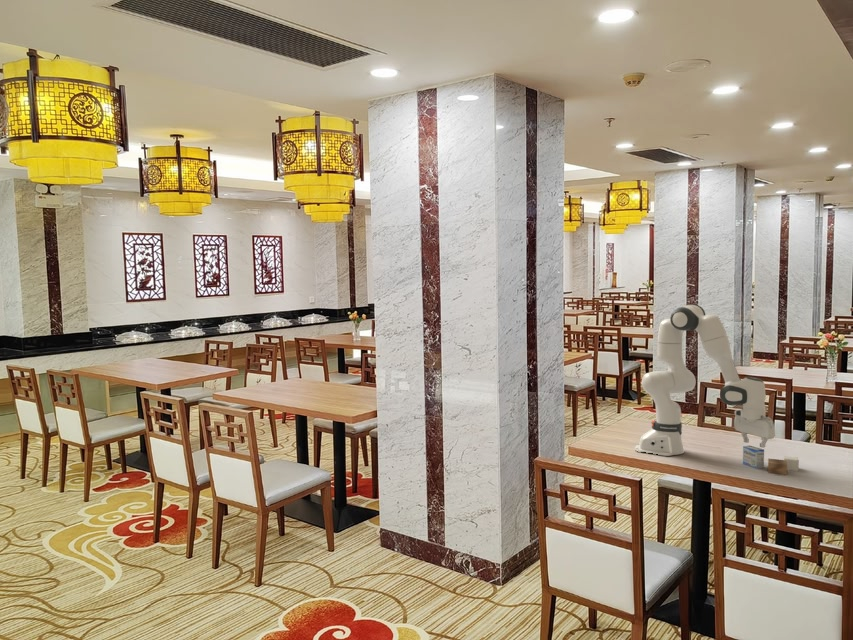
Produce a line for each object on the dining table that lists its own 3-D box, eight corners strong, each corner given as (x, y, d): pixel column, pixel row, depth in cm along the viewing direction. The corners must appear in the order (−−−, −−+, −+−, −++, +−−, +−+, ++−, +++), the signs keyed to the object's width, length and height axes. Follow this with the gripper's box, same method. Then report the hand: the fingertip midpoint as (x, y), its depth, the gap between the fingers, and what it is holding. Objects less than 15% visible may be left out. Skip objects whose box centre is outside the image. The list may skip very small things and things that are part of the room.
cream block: (785, 470, 289) (785, 459, 289) (784, 467, 294) (784, 456, 294) (798, 471, 287) (798, 460, 287) (797, 468, 292) (797, 457, 292)
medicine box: (742, 465, 298) (742, 446, 298) (749, 463, 300) (750, 444, 299) (756, 469, 291) (756, 450, 290) (764, 468, 293) (764, 449, 292)
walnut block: (768, 474, 285) (768, 462, 285) (768, 469, 291) (768, 458, 291) (786, 476, 282) (787, 464, 282) (786, 471, 288) (786, 460, 288)
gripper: (778, 417, 285) (778, 449, 285) (743, 409, 304) (743, 439, 305) (766, 418, 283) (766, 450, 284) (731, 410, 302) (731, 440, 303)
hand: (754, 444), depth 294 cm, fingers open, 8 cm apart
